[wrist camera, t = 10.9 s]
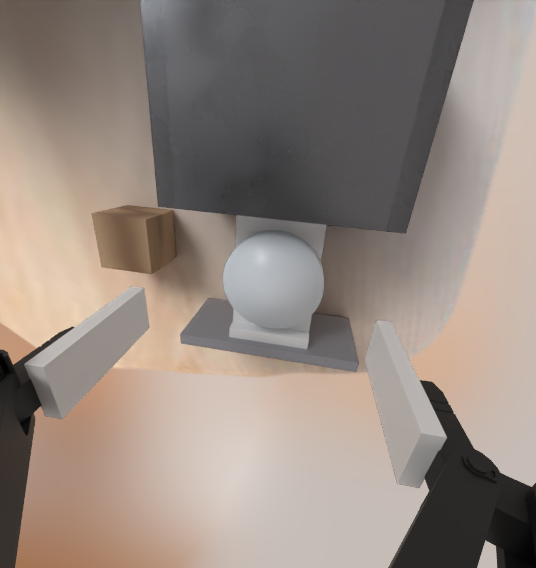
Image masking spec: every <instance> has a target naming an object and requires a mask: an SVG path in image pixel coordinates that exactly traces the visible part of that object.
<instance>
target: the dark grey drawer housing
mask: <svg viewBox="0 0 536 568" xmlns="http://www.w3.org/2000/svg"><path fill="white" fill-rule="evenodd" d="M473 1H474V0H140V7H141V18H142V29H143V41H144V52H145V63H146V75H147V86H148V97H149V109H150V120H151V131H152V143H153V154H154V165H155V177H156V188H157V199H158V207H166V208H175V209H185V210H194V211H203V212H212V213H221V214H231V215H240V216H249V217H258V218H268V219H277V220H286V221H295V222H304V223H314V224H323V225H332V226H341V227H350V228H360V229H369V230H378V231H387V232H396V233H406V231H407V227H408V224H409V221H410V217H411V214H412V210H413V207H414V203H415V200H416V197H417V193H418V190H419V186H420V183H421V179H422V176H423V173H424V169H425V166H426V162H427V159H428V155H429V152H430V148H431V145H432V142H433V138H434V135H435V131H436V128H437V124H438V121H439V118H440V114H441V111H442V107H443V104H444V100H445V97H446V94H447V90H448V87H449V83H450V80H451V76H452V73H453V70H454V66H455V63H456V59H457V56H458V52H459V49H460V46H461V42H462V39H463V35H464V32H465V28H466V25H467V22H468V18H469V15H470V11H471V8H472V4H473Z"/></svg>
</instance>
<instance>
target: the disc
mask: <svg viewBox="0 0 536 568" xmlns="http://www.w3.org/2000/svg"><path fill="white" fill-rule="evenodd" d="M223 286H224V291H225V294H226V296H227V298H228V301H229V302H230V304H231V305H232V307H233V308H234V309H235V311H236V312H237V313H238V314H240V315H241V316H242V317H243V318H245V319H246V320H248V321H249V322H251V323H253V324H256V325H258V326H261V327H266V328H273V329H281V328H288V327H292V326H295V325H297V324H299V323H301V322H303V321H305V320H306V319H307V318H309V317H310V316H311V315H312V314H313V313H314V312H315V310H316V309H317V307H318V306H319V304H320V302H321V300H322V296H323V293H324V274H323V267H322V264H321V261H320V259H319V257H318V255H317V253H316V252H315V250H314V249H313V248H312V247H311V246H310V245H309V244H308V243H307V242H306V241H305V240H303V239H302V238H300V237H299V236H296V235H294V234H292V233H289V232H285V231H280V230H267V231H262V232H259V233H256V234H253V235H251V236H249V237H248V238H246V239H245V240H244V241H243V242H242V243H240V244H239V245H238V247H237V248H236V249H235V250H234V251H233V252H232V254H231V255H230V256H229V258H228V260H227V262H226V265H225V268H224V272H223Z"/></svg>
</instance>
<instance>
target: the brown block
mask: <svg viewBox="0 0 536 568" xmlns="http://www.w3.org/2000/svg"><path fill="white" fill-rule="evenodd" d="M92 218H93V223H94V229H95V234H96V239H97V244H98V250H99V255H100V260H101V266H102V267H104V268H111V269H118V270H126V271H133V272H140V273H148V274H152V273H154V272H155V271H157V270H158V269H160V268H161V267H163V266H164V265H166V264H167V263H168V262H170V261H171V260H173V259H174V258H176V246H175V231H174V216H173V210H165V209H155V208H146V207H137V206H128V205H127V206H122V207H118V208H114V209H109V210H105V211H101V212H96V213H92Z"/></svg>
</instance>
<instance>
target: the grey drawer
mask: <svg viewBox="0 0 536 568" xmlns="http://www.w3.org/2000/svg"><path fill="white" fill-rule="evenodd" d="M326 228H327V225H323V224H314V223H304V222H295V221H286V220H277V219H268V218H258V217H249V216H240V215H236V236H235V249H236V248H237V247H238V245H239V244H240V243H242V242H243V241H244V240H245V239H246V238H248V237H249V236H251V235H253V234H256V233H259V232H262V231H267V230H280V231H285V232H289V233H292V234H294V235H296V236H299V237H300V238H302V239H303V240H305V241H306V242H307V243H308V244H309V245H310V246H311V247H312V248H313V249H314V250H315V252H316V253H317V255H318V257H319V259H320V261H321V257H322V252H323V246H324V240H325V234H326ZM180 336H181V343H182V344H188V345H194V346H201V347H207V348H213V349H219V350H225V351H231V352H237V353H243V354H249V355H256V356H262V357H268V358H274V359H280V360H286V361H292V362H298V363H304V364H311V365H317V366H323V367H329V368H335V369H341V370H347V371H353V372H356V371H357V367H358V364H359V362H358V357H357V353H356V348H355V344H354V339H353V335H352V330H351V326H350V322H349V318H344V317H337V316H330V315H323V314H316V313H313V314H312V315H311V316H310V317H309V318H307V319H306V320H305V321H303V322H301V323H299V324H297V325H295V326H292V327H288V328H281V329H273V328H266V327H261V326H258V325H256V324H253V323H251V322H249V321H248V320H246V319H245V318H243V317H242V316H241V315H240V314H238V313H237V312H236V311H235V309H234V308H233V307H232V305H231V304H230V302H229V301H226V300H219V299H212V298H208V299H207V301H206V302H205V303H204V304H203V306H202V307H201V308H200V310H199V311H198V312H197V313H196V315H195V316H194V317H193V319H192V320H191V321H190V322H189V324H188V325H187V326H186V328H185V329H184V330H183V331H182V333H181V334H180Z"/></svg>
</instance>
